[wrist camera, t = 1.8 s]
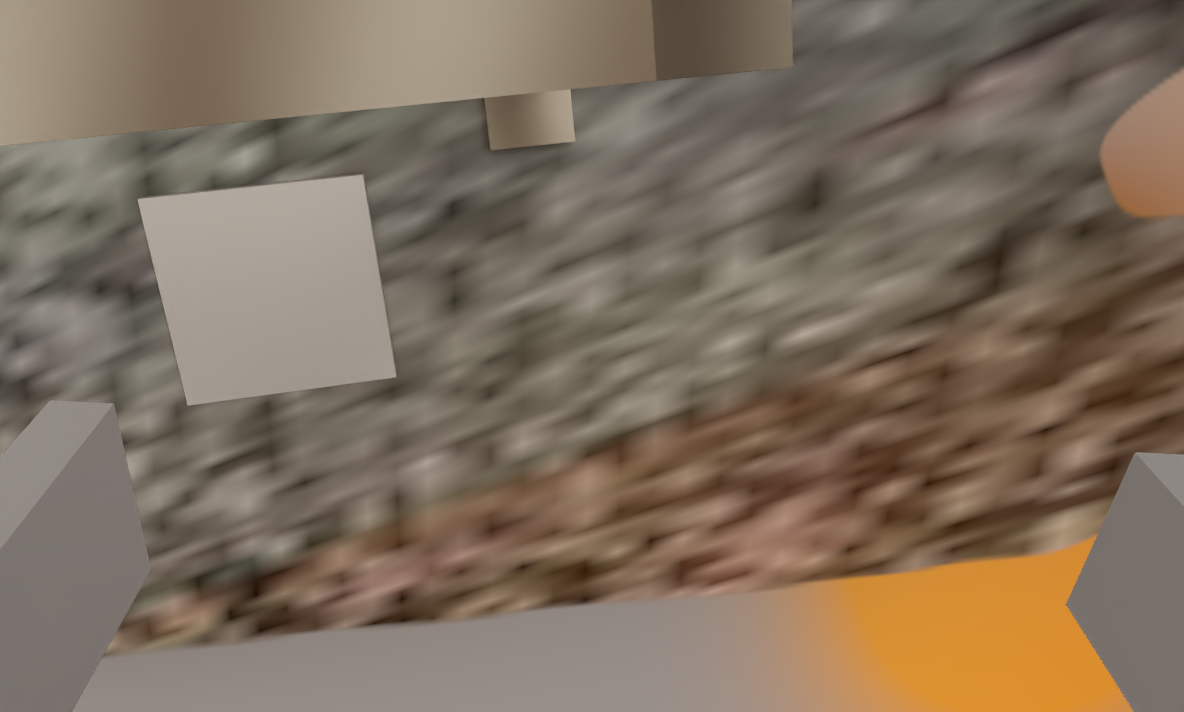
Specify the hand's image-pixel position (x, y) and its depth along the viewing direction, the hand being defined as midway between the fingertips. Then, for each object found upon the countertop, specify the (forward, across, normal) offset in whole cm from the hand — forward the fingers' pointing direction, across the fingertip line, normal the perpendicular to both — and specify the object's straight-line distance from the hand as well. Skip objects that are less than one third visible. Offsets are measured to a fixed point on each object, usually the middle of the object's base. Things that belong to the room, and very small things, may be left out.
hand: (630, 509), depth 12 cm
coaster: (+31, -14, -13) cm, 36 cm away
